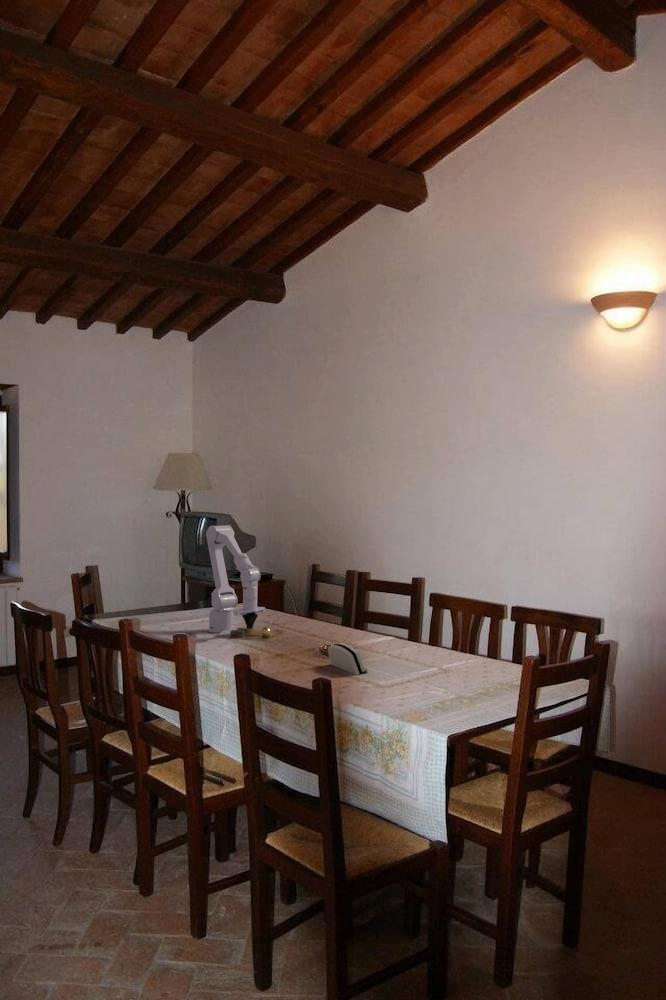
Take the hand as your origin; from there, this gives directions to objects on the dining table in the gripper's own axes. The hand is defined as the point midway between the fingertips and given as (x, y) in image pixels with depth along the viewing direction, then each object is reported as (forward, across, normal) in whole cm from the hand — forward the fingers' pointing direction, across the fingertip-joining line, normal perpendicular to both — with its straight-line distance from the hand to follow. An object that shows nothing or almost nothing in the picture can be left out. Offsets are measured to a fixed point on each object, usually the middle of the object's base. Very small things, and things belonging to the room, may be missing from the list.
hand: (249, 631), depth 336 cm
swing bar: (+1, -1, -3) cm, 3 cm away
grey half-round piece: (+3, -9, -60) cm, 61 cm away
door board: (+2, +3, -1) cm, 4 cm away
